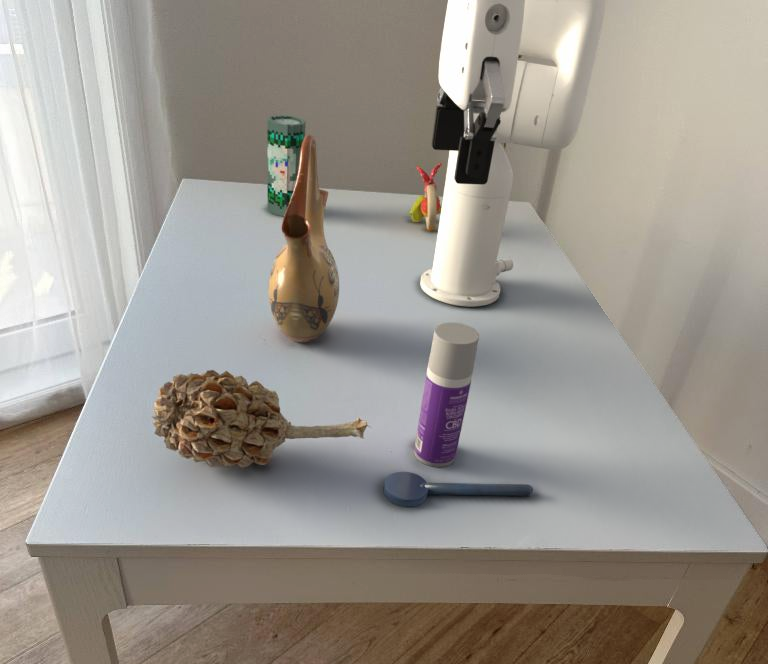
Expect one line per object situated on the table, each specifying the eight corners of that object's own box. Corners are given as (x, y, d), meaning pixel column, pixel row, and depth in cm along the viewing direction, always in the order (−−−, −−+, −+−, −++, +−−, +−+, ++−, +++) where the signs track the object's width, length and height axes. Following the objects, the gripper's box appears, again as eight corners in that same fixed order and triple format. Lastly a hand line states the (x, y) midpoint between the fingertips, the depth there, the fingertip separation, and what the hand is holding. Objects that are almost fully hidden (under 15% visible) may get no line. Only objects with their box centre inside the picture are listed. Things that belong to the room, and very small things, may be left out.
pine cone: (152, 489, 73) (141, 405, 66) (161, 432, 80) (151, 351, 73) (371, 487, 77) (381, 407, 70) (361, 433, 84) (369, 356, 77)
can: (264, 213, 132) (263, 121, 122) (273, 202, 136) (274, 113, 126) (297, 218, 131) (299, 127, 122) (305, 207, 136) (308, 118, 126)
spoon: (385, 506, 74) (386, 497, 74) (381, 478, 78) (382, 469, 77) (536, 508, 77) (539, 499, 76) (526, 480, 80) (528, 472, 79)
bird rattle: (445, 242, 136) (438, 206, 139) (459, 193, 126) (452, 156, 129) (412, 241, 135) (406, 204, 138) (424, 192, 125) (417, 154, 128)
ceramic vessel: (326, 369, 93) (338, 161, 77) (256, 359, 93) (253, 149, 77) (343, 312, 106) (357, 122, 89) (282, 303, 106) (284, 112, 89)
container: (442, 472, 80) (467, 349, 70) (406, 456, 81) (424, 333, 71) (462, 452, 83) (488, 332, 73) (426, 436, 84) (447, 317, 75)
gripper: (568, -27, 57) (519, 199, 68) (503, -56, 69) (471, 139, 80) (475, -36, 55) (441, 196, 67) (425, -64, 67) (404, 136, 79)
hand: (457, 165), depth 74 cm, fingers open, 9 cm apart
